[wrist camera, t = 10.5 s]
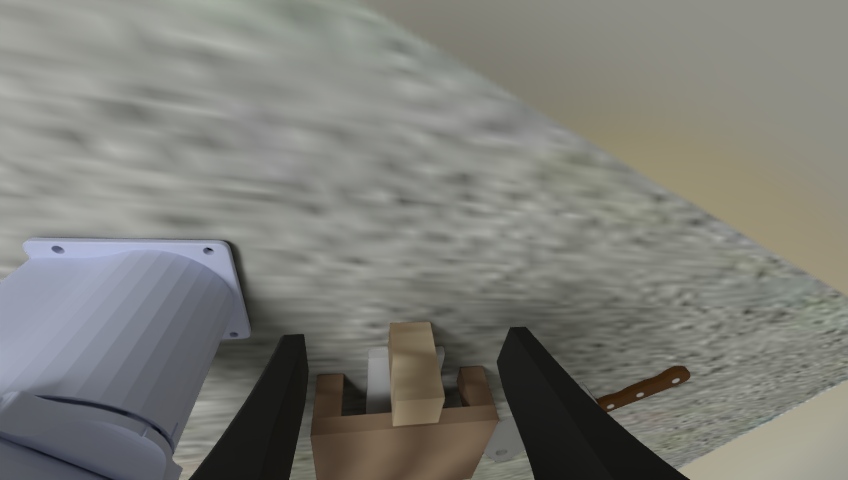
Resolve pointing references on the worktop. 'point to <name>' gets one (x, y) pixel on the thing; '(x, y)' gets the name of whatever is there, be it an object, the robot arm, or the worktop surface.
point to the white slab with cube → (407, 376)
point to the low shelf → (402, 436)
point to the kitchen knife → (508, 432)
